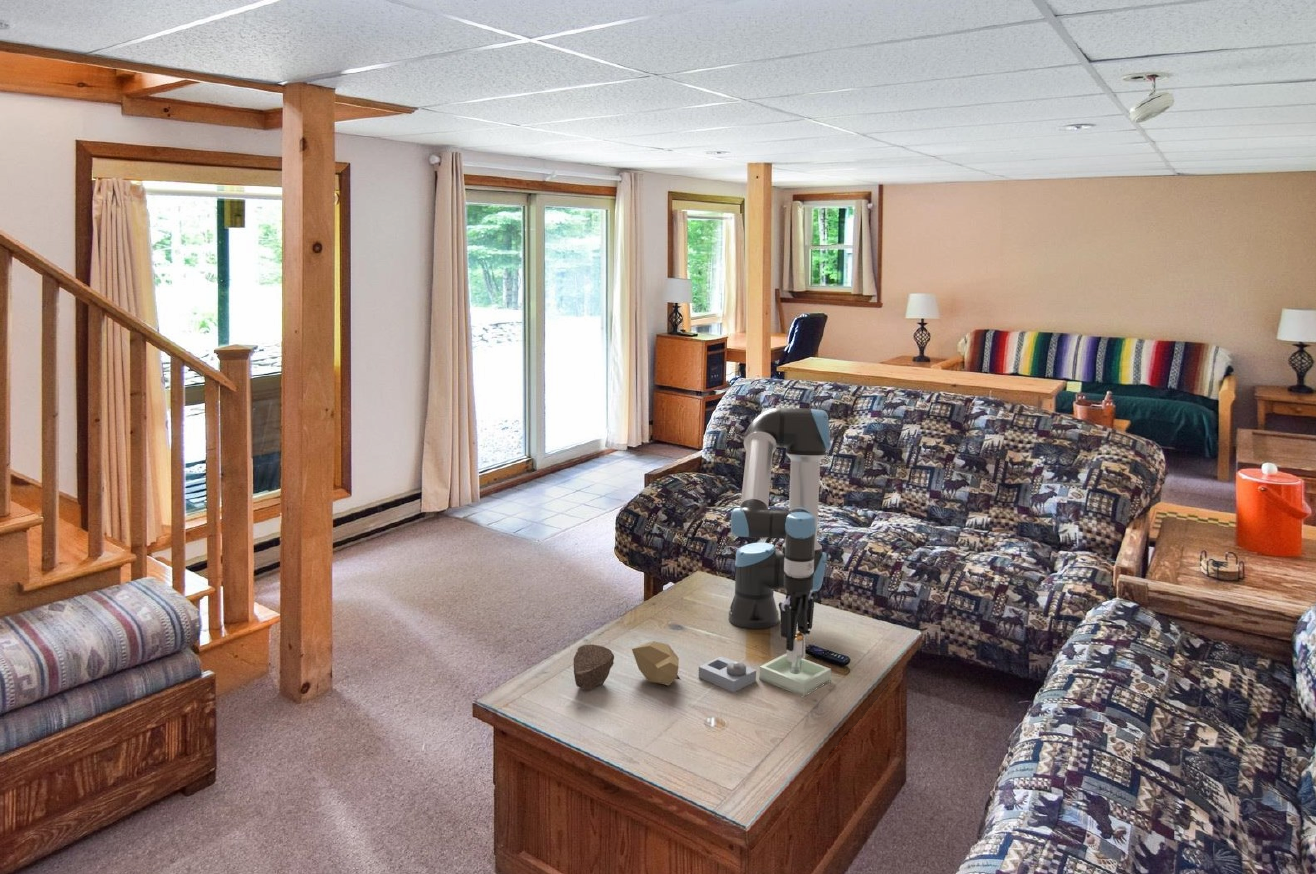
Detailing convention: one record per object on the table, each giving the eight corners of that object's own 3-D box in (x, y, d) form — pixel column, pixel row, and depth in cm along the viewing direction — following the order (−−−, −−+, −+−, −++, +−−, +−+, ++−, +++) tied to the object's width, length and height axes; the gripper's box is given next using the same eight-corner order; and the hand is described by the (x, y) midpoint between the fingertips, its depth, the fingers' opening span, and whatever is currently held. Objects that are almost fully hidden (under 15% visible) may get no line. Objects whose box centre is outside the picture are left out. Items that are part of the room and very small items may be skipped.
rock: (587, 685, 231) (561, 656, 235) (577, 705, 238) (552, 676, 242) (622, 659, 239) (596, 631, 243) (612, 679, 246) (587, 651, 250)
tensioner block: (698, 677, 247) (698, 657, 246) (720, 666, 253) (721, 647, 252) (733, 692, 239) (734, 672, 237) (755, 680, 245) (756, 661, 244)
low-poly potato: (636, 670, 251) (617, 666, 241) (656, 634, 252) (638, 629, 242) (680, 699, 244) (663, 697, 234) (701, 662, 245) (684, 658, 235)
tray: (759, 679, 246) (759, 666, 245) (787, 664, 254) (787, 652, 254) (803, 696, 236) (803, 684, 236) (830, 681, 245) (830, 668, 244)
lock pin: (787, 671, 245) (788, 634, 243) (794, 667, 247) (795, 631, 245) (796, 675, 243) (797, 638, 241) (803, 671, 245) (804, 634, 243)
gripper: (792, 585, 231) (788, 673, 236) (829, 569, 242) (825, 653, 247) (767, 577, 236) (765, 664, 241) (805, 562, 248) (802, 645, 252)
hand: (795, 658), depth 244 cm, fingers closed on lock pin, 3 cm apart
